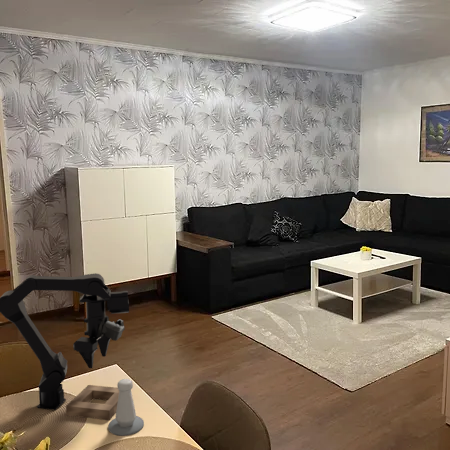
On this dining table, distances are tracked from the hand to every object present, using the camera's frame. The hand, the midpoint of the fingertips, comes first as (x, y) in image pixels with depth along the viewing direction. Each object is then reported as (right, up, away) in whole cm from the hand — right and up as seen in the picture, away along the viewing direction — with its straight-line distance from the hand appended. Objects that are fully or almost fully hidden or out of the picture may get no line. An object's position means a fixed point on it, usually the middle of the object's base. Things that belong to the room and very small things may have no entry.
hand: (97, 362), depth 148 cm
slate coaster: (+12, -14, -14) cm, 23 cm away
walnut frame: (+1, -13, -3) cm, 13 cm away
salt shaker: (+12, -14, -14) cm, 23 cm away
